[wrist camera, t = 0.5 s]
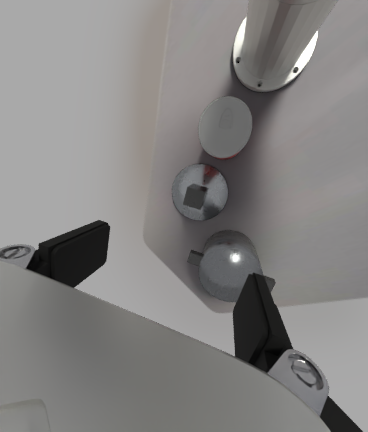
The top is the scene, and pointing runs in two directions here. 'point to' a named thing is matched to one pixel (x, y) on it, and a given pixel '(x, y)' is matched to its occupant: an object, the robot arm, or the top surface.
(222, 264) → the pot
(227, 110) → the canned food
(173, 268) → the top surface
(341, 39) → the top surface
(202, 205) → the lid
